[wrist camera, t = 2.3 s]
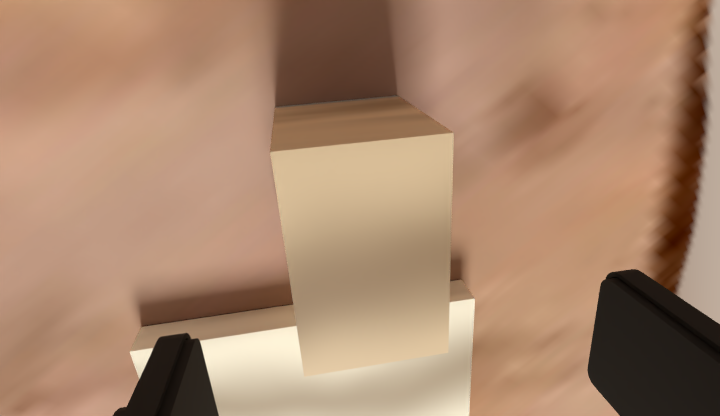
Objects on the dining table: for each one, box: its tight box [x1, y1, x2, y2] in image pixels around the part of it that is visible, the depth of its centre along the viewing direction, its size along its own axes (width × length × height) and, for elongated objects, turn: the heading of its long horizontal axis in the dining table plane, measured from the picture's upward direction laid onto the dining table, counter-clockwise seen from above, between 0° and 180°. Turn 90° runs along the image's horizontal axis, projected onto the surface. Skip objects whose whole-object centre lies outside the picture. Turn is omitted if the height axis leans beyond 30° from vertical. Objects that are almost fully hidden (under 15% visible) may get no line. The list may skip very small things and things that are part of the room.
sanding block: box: [270, 95, 454, 377], centre depth 15 cm, size 7×4×6 cm, turn 4°
